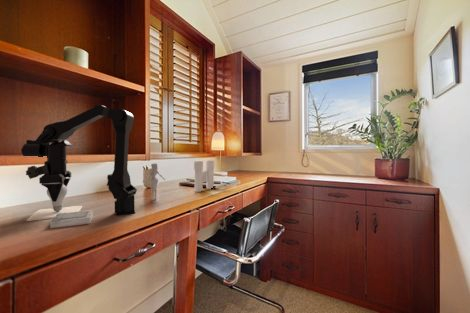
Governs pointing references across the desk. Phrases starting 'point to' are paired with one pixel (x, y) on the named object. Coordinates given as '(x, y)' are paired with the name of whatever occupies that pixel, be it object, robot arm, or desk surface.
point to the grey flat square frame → (68, 221)
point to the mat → (52, 213)
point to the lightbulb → (58, 204)
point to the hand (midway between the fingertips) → (57, 199)
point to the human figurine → (153, 179)
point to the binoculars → (204, 175)
